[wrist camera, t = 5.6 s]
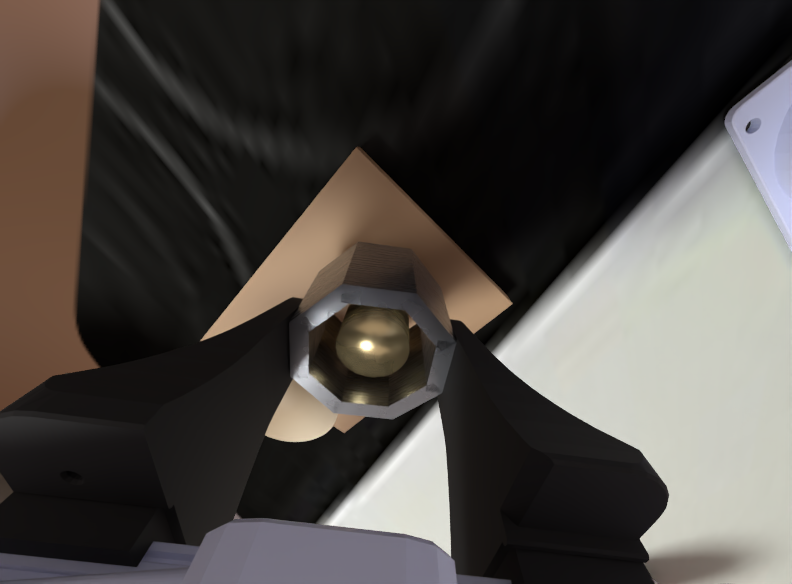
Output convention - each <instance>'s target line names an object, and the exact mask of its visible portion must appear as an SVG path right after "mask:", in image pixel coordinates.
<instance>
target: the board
mask: <svg viewBox="0 0 792 584" xmlns="http://www.w3.org/2000/svg"><path fill="white" fill-rule="evenodd" d="M357 242H366V243H373V244H381V245H388V246H395V247H403V248H410V249H412V250H413V252H414V253H415V254H416V256H417V257H418V258H419V259H420V261H421V262H422V263H423V265H424V266H425V267H426V269H427V270H428V271H429V273H430V274H431V275H432V276H433V278H434V279H435V280H436V282H437V283H438V284H439V286H440V287H441V290H442V294H443V297H444V301H445V304H446V308H447V311H448V314H449V318H450V319H452V320H459V321H462V322H463V323H464V324H465V325H466V326H467V327H468V328H469V330H470V331H471V332H472V333H473V334H474V333H475V332H476V331H478V330H479V329H480V328H482V327H483V326H484V325H486V324H487V323H488V322H489V321H491V320H492V319H493V318H495V317H496V316H497V315H499V314H500V313H501V312H503V311H504V310H505V309H506V308H508V307H509V306H510V305H512V302H511V301H510V299H509V298H508V296H507V295H506V294H505V293H504V292H503V291H502V290H501V288H500V287H499V286H498V285H497V284H496V283H495V282H494V281H493V280H492V279H491V278H490V277H489V276H488V275H487V274H486V273H485V272H484V271H483V270H482V269H481V268H480V267H479V266H478V265H477V264H476V263H475V262H474V261H473V260H472V259H471V258H470V257H469V256H468V255H467V254H466V253H465V252H464V251H463V250H462V249H461V248H460V247H459V246H458V245H457V244H456V243H455V242H454V241H453V240H452V239H451V238H450V237H449V236H448V235H447V234H446V233H445V232H444V231H443V230H442V229H441V228H440V227H439V226H438V225H437V224H436V223H435V222H434V221H433V220H432V219H431V218H430V217H429V216H428V215H427V214H426V213H425V212H424V211H423V210H422V209H421V208H420V207H419V206H418V205H417V204H416V203H415V202H414V201H413V200H412V199H411V198H410V197H409V196H408V195H407V194H406V193H405V192H404V191H403V190H402V189H401V188H400V187H399V186H398V185H397V184H396V183H395V182H394V181H393V180H392V179H391V178H390V177H389V176H388V175H387V174H386V173H385V172H384V171H383V170H382V169H381V168H380V167H379V166H378V165H377V164H376V163H375V162H374V161H373V160H372V159H371V158H370V157H369V156H368V155H367V154H366V153H365V152H364V151H363V150H362V149H361V148H360V147H356V148H355V149H354V151H353V152H352V153H351V154H350V156H349V157H348V158H347V159H346V161H345V162H344V163H343V164H342V166H341V167H340V168H339V169H338V171H337V172H336V173H335V174H334V176H333V177H332V178H331V179H330V181H329V182H328V183H327V184H326V185H325V187H324V188H323V189H322V190H321V192H320V193H319V194H318V195H317V197H316V198H315V199H314V200H313V202H312V203H311V204H310V205H309V207H308V208H307V209H306V210H305V212H304V213H303V214H302V215H301V217H300V218H299V219H298V220H297V221H296V223H295V224H294V225H293V226H292V228H291V229H290V230H289V231H288V233H287V234H286V235H285V236H284V238H283V239H282V240H281V241H280V243H279V244H278V245H277V246H276V248H275V249H274V250H273V251H272V253H271V254H270V255H269V256H268V258H267V259H266V260H265V261H264V262H263V264H262V265H261V266H260V267H259V269H258V270H257V271H256V272H255V274H254V275H253V276H252V277H251V279H250V280H249V281H248V282H247V284H246V285H245V286H244V287H243V289H242V290H241V291H240V292H239V294H238V295H237V296H236V297H235V299H234V300H233V301H232V302H231V303H230V305H229V306H228V307H227V308H226V310H225V311H224V312H223V313H222V315H221V316H220V317H219V318H218V320H217V321H216V322H215V323H214V325H213V326H212V327H211V328H210V330H209V331H208V332H207V333H206V335H205V336H204V337H203V338H202V339H201V341H203V340H205V339H208V338H210V337H213V336H216V335H218V334H221V333H223V332H225V331H227V330H230V329H232V328H234V327H236V326H238V325H240V324H242V323H244V322H246V321H248V320H250V319H252V318H254V317H256V316H258V315H260V314H262V313H264V312H265V311H267V310H269V309H271V308H273V307H274V306H276V305H278V304H280V303H282V302H283V301H285V300H287V299H289V298H291V297H296V298H304V296H305V294H306V293H307V291H308V289H309V288H310V286H311V284H312V283H313V281H314V279H315V277H316V276H317V274H318V272H319V271H320V270H321V269H323V268H324V267H325V266H327V265H328V264H329V263H331V262H332V261H333V260H335V259H336V258H337V257H339V256H340V255H341V254H342V253H344V252H345V251H346V250H348V249H349V248H350V247H352V246H353V245H354V244H356V243H357ZM348 305H349V304H348ZM348 305H347V306H345V307H344V308H342V309H341V310H339V311H338V312H337V313H335V314H334V315H335V316H336V317H337V318H338V319H339V320H340V321H341V322H343V319H344V316H345V313H346V311H347V308H348ZM414 325H416V322H415V321H414V320H413V319H412V318H411V317H410V315H409V328H411V327H412V326H414ZM364 417H366V416H356V415H346V414H336V413H333V412H332V411H330V410H329V409H328V408H327V407H326V406H325V405H323V404H322V403H321V402H320V401H319V400H317V399H316V398H315V397H314V396H313V395H312V394H310V393H309V392H308V391H307V390H306V389H304V388H303V387H302V386H301V385H300V384H298V383H297V382H296V381H295V380H294V379H293V380H292V382H291V383H290V385H289V387H288V389H287V391H286V393H285V395H284V397H283V399H282V400H281V402H280V404H279V406H278V408H277V410H276V412H275V414H274V416H273V418H272V420H271V422H270V424H269V426H268V429H267V431H266V434H265V435H266V436H268V437H271V438H274V439H277V440H282V441H288V442H302V441H309V440H313V439H316V438H318V437H320V436H322V435H324V434H325V433H327V432H328V431H329V430H330V429H331V428H332V426H334V427H336V428H337V429H339V430H340V431H342V432H343V433H345V432H346V431H347V430H349V429H350V428H351V427H352V426H354V425H355V424H356V423H358V422H359V421H360V420H362V419H363V418H364Z"/></svg>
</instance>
